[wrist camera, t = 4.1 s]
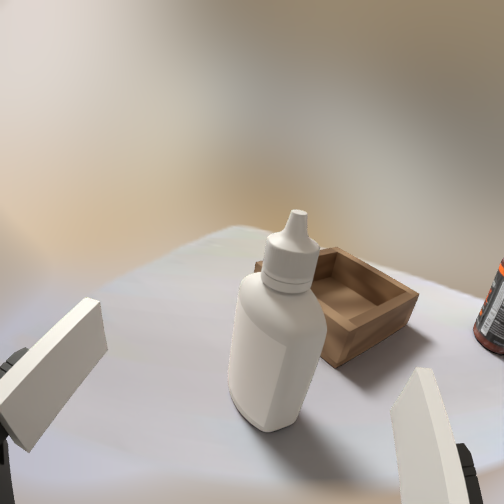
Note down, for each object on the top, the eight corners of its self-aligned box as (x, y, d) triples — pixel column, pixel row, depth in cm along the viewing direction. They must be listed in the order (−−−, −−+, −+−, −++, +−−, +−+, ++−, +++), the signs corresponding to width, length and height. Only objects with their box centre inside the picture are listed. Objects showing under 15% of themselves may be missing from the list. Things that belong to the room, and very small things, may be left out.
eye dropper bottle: (218, 430, 16) (244, 226, 11) (229, 364, 21) (252, 190, 16) (295, 437, 16) (365, 244, 11) (291, 372, 21) (335, 203, 16)
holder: (406, 324, 28) (419, 293, 26) (334, 368, 22) (349, 331, 20) (329, 274, 36) (336, 246, 34) (250, 295, 30) (255, 262, 28)
